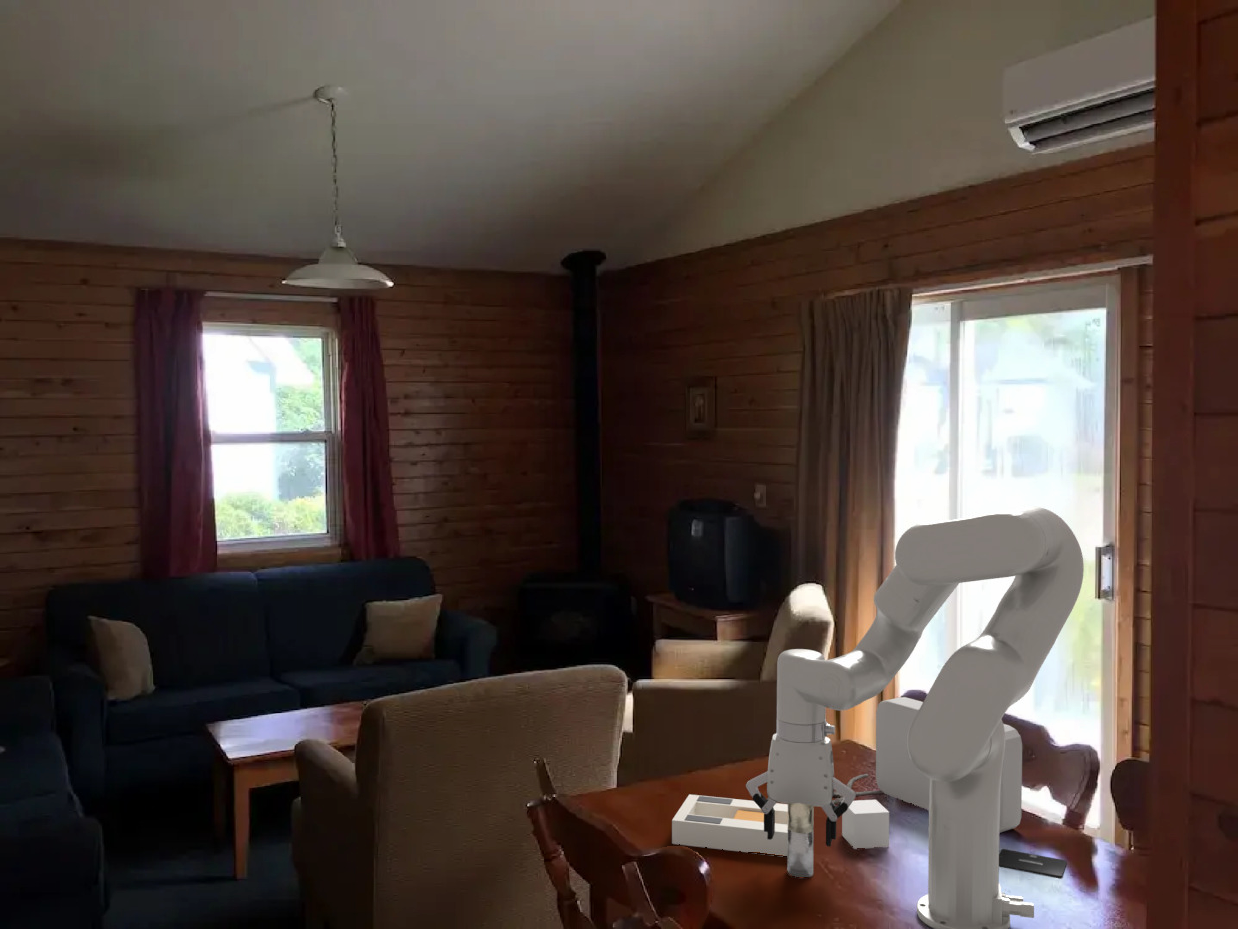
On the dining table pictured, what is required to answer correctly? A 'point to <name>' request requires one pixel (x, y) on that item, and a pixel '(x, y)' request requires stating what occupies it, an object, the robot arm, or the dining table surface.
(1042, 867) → the solid state drive
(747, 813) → the switch tab
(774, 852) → the switch box
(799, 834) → the silver metal cylinder
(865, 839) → the white cube
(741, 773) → the dining table surface
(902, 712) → the rounded white slab
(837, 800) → the pliers
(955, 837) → the robot arm
